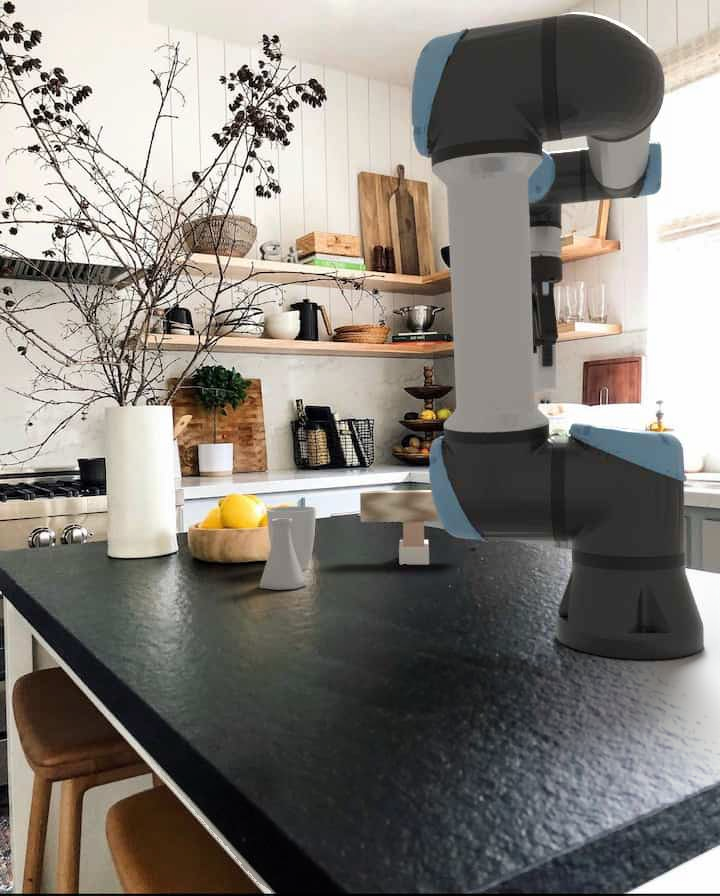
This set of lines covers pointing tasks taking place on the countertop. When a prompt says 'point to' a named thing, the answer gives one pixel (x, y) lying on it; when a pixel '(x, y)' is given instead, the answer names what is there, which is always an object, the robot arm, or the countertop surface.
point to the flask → (282, 560)
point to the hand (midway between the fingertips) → (540, 390)
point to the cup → (297, 530)
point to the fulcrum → (413, 544)
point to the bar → (397, 506)
